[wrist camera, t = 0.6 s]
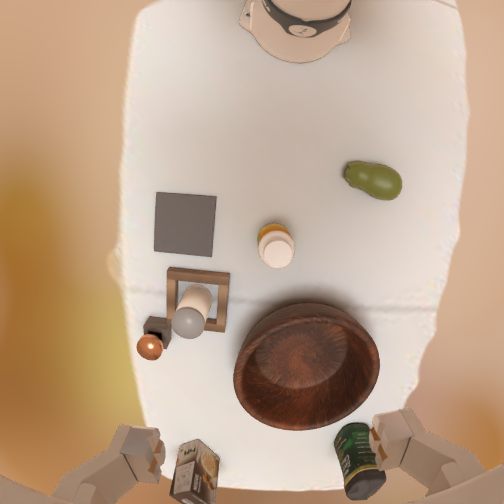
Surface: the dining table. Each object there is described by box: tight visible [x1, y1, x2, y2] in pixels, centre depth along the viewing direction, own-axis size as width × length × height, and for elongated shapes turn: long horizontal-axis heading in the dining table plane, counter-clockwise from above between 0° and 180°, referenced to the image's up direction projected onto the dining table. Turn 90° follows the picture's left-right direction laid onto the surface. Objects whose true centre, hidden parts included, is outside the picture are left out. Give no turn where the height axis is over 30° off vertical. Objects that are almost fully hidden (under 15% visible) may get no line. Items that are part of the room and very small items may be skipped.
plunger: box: [137, 332, 163, 360], centre depth 53 cm, size 4×4×5 cm
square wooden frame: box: [143, 267, 230, 349], centre depth 55 cm, size 14×14×4 cm
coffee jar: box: [334, 424, 386, 500], centre depth 57 cm, size 10×8×19 cm
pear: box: [344, 161, 402, 200], centre depth 49 cm, size 6×5×10 cm
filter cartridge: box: [171, 285, 212, 339], centre depth 52 cm, size 5×5×10 cm
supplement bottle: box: [258, 223, 295, 268], centre depth 49 cm, size 5×5×10 cm
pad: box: [154, 192, 216, 257], centre depth 53 cm, size 10×10×1 cm
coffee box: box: [170, 439, 220, 504], centre depth 60 cm, size 9×6×16 cm
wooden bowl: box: [233, 303, 380, 431], centre depth 54 cm, size 25×25×10 cm
